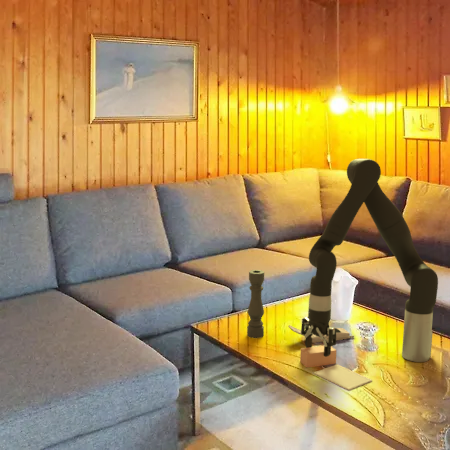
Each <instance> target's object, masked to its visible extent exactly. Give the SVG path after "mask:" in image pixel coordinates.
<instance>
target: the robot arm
mask: <svg viewBox="0 0 450 450" xmlns="http://www.w3.org/2000/svg"><path fill="white" fill-rule="evenodd" d="M346 168H347V169H346V175H347V176H346V177H347V179H348V182H350V187H349V190H348V192H347V194H346V195H345V197H344V199H343V200H342V201H341V203H340V204H339V205H338V206H337V208H336V209H335V210H334V212H333V213H332V215H331V216H330V219H329V220H328V222H327V224H326V226H325V228H324V230H323V233H322V235H320V236H319V238H318V239H317V240H316V242H314V245H313V246H312V247H311V249H310V252H309V253H308V262H309V263H310V265H311V266H312V267H314V268H316V272H315V275H313V276H312V277H311V279H310V286H309V287H310V288H309V289H310V290H309V291H310V292H309V297H308V310H307V311H308V313H307V315H308V316H307V317H304V318H303V317H302V319H301V329H300V330H301V334H302V335H301V334H300V335H301V336H303V335H304V336H303V337H304V338H305V342H304V343H305V344H304V345H305V348H308V347H313V346H312V345H313V343H312V337H311V336H312V335H313V334H314V335H317V336H318V337H320V338H321V340H322V341H323V342H322V343H323V346H324V356H325V357H327V356H329V355H330V354H331V346H332V347H334V346H336V345H337V340H336V328H337V327H330V325H329V324H330V322H331V318H332V317H331V316H332V302H333V301H332V300H333V299H332V285H333V284H332V283H333V280H334V277H335V273H336V270H337V264H338V263H337V257H336V255H335V254H334V252H333V250H334V248H335V247H336V246H337V247H338V246H341V245H342V244H343V242H344V240H345V239H346V237H347V234H348V232H349V229H350V227H351V226H352V223H353V222H354V219H355V217H356V215H357V214H358V213H359V211H360V209H361V207H362V206H363V204H364V205H365V207H366V209H367V212H368V214H369V215H370V217H371V219H372V221H373V222H374V224H375V227H376V229H377V230H378V233H379V234H380V236H381V238H382V240H383V241H384V242H385V244H386V246H387V248H388V249H389V251H391V253H392V254H393V256H394V257H395V259H396V263H398V266H399V269H400V271H401V273H402V275H403V278H404V281H405V282H406V284H407V285H408V287H409V288H410V292H409V298H408V299H407V300H406V301H405V306H404V320H403V321H404V322H403V333H402V334H403V336H402V349H401V350H402V351H401V356H402V358H403V359H405V360H407V361H410V362H415V363H423V362H428V361H429V360H430V358H431V357H432V356H431V355H432V345H433V344H432V343H433V334H434V333H433V330H432V328H433V316H434V307H435V306H436V303H437V295H438V290H439V289H438V288H439V287H438V286H439V278H438V274H437V272H436V271H435V270H434V269H433V268H431V267H430V266H429V265H427V264H426V263H425V262H424V260H423V259H422V258H421V257H420V255H419V253H418V252H417V249H416V248H415V245H414V242H413V239H412V233H411V231H410V228H409V225H408V223H407V222H406V220H405V218H404V216H403V214H402V212H401V211H400V210H399V208H398V207H397V206H396V205H395V204H394V202H393V201H392V200H391V199H390V198H389V197H388V196H387V195H386V194H385V193H384V191H383V189H382V188H381V186H380V184H379V180H380V179H381V174H382V170H381V166H380V165H379V163H378V162H377V161H375V160H373V159H371V158H356V159H353V160H351V161H350V162H349V164H348V166H347V167H346ZM325 334H326V337H324V336H325ZM326 339H327V341H326ZM332 339H333V341H332Z"/></svg>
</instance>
